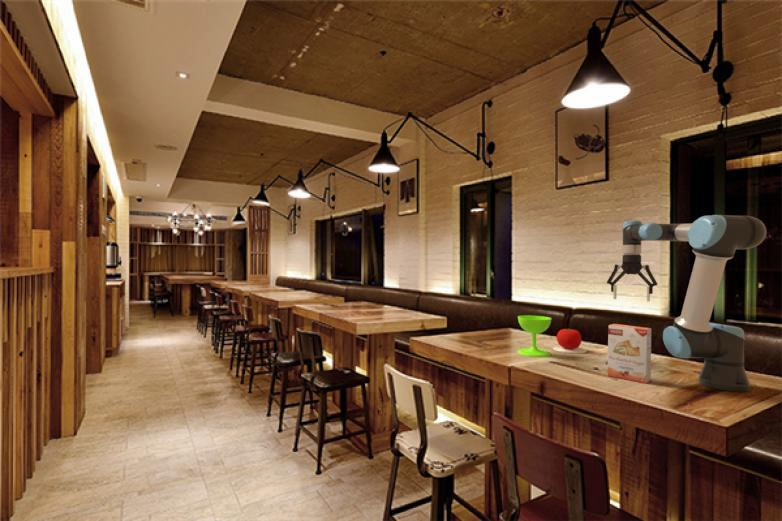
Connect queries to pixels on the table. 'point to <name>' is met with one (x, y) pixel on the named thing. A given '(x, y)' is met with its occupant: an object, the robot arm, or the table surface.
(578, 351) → the plate
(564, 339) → the tomato
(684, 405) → the table surface
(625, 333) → the cracker box
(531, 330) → the wineglass
